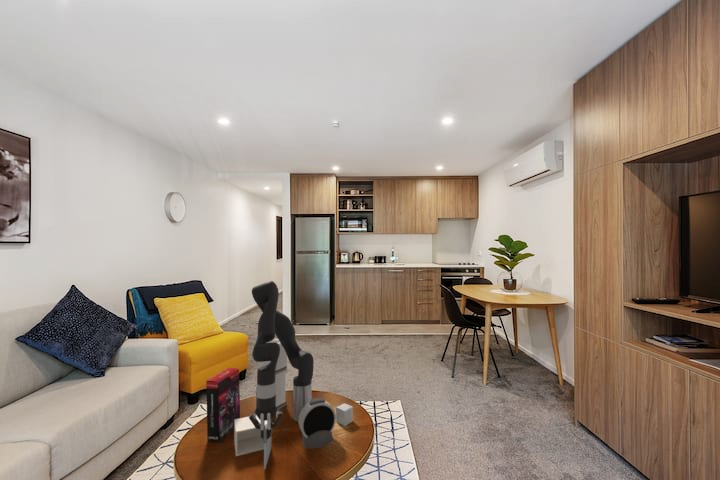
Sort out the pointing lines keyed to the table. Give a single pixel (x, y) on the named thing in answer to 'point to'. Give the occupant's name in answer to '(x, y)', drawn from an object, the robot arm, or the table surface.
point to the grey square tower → (279, 375)
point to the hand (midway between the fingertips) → (265, 438)
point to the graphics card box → (222, 404)
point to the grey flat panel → (266, 446)
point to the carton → (247, 436)
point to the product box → (344, 414)
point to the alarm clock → (317, 423)
